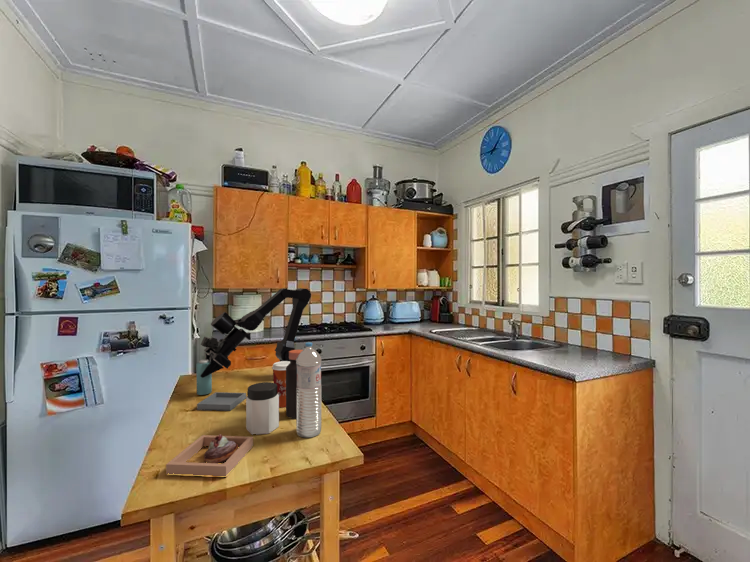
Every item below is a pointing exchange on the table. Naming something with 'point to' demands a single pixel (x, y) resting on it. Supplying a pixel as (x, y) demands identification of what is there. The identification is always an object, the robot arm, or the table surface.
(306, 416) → the water bottle
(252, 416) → the jar
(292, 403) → the vinegar
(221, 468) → the pastry plate
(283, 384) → the paper cup
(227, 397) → the tray
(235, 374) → the table surface
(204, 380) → the pepper mill
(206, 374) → the robot arm
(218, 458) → the pastry
